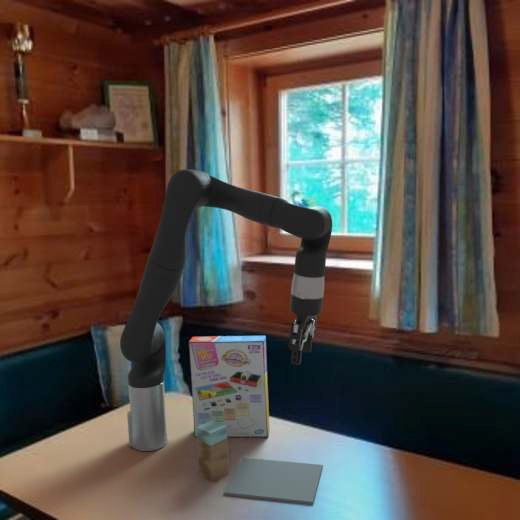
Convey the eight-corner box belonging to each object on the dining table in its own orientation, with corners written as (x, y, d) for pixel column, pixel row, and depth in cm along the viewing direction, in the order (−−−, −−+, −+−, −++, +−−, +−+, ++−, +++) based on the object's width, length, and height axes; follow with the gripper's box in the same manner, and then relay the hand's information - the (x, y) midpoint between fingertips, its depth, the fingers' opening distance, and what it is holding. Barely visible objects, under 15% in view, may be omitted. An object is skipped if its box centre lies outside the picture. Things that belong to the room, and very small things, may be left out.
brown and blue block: (198, 475, 132) (196, 427, 131) (214, 466, 136) (212, 420, 134) (212, 482, 129) (210, 433, 127) (228, 473, 132) (226, 426, 131)
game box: (270, 429, 156) (267, 335, 152) (268, 438, 150) (265, 340, 147) (197, 428, 158) (192, 335, 154) (193, 437, 152) (188, 341, 149)
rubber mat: (223, 494, 124) (223, 492, 123) (242, 459, 139) (242, 457, 139) (313, 504, 119) (313, 501, 119) (322, 467, 134) (322, 464, 134)
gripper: (301, 283, 137) (295, 345, 140) (282, 297, 124) (276, 365, 127) (330, 288, 134) (323, 351, 138) (314, 303, 121) (307, 372, 125)
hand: (300, 357), depth 133 cm, fingers open, 8 cm apart
